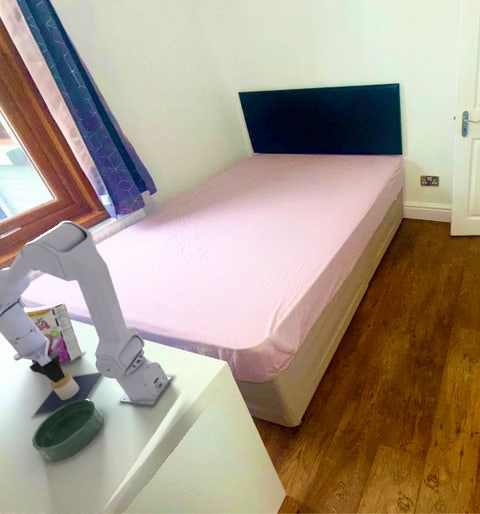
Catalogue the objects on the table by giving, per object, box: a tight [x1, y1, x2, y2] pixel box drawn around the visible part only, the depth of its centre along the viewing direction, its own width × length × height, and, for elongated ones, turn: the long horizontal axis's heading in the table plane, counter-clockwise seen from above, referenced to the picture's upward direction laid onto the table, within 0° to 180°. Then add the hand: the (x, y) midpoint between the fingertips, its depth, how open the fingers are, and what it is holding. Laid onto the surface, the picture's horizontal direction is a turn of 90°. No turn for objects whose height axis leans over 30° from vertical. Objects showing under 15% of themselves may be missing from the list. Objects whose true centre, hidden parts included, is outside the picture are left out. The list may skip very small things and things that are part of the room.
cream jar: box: [49, 372, 79, 400], centre depth 90 cm, size 4×4×5 cm
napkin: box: [34, 372, 103, 415], centre depth 92 cm, size 12×11×1 cm
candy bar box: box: [24, 302, 83, 365], centre depth 102 cm, size 11×5×16 cm, turn 94°
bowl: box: [31, 398, 104, 462], centre depth 79 cm, size 12×12×4 cm
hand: (55, 373), depth 88 cm, fingers open, 7 cm apart
